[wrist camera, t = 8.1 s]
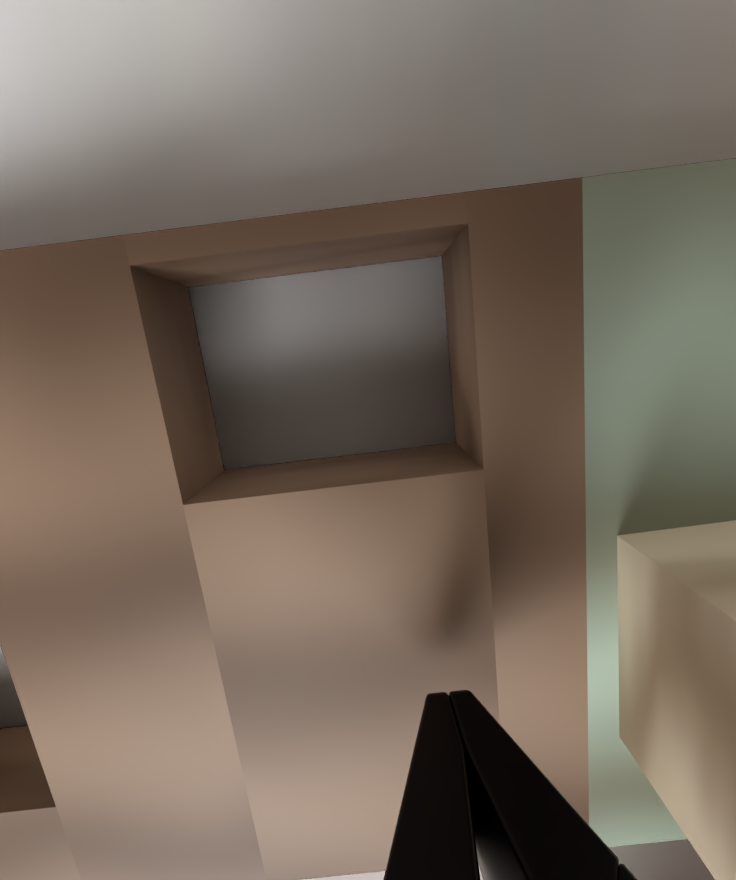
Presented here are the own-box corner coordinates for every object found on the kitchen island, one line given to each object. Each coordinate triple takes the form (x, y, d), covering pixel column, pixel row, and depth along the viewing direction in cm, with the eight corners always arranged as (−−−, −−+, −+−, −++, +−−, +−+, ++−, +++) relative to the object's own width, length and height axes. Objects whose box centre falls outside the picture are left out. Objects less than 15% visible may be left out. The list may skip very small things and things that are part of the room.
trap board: (809, 724, 13) (917, 814, 10) (-3, 812, 13) (-88, 920, 10) (876, 178, 9) (1055, 118, 7) (-194, 311, 10) (-379, 298, 7)
